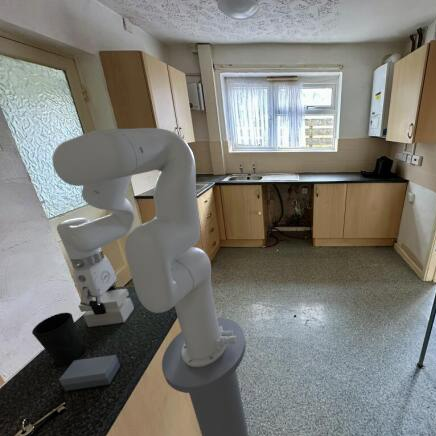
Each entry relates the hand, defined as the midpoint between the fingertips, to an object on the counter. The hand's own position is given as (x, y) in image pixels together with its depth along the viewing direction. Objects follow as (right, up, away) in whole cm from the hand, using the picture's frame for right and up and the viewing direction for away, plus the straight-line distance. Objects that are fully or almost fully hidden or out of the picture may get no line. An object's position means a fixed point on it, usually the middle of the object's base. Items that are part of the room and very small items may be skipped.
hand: (107, 305), depth 78 cm
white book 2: (0, -5, +2) cm, 5 cm away
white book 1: (0, -3, +1) cm, 3 cm away
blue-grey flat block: (+10, -10, -18) cm, 23 cm away
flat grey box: (0, +1, 0) cm, 1 cm away
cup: (-2, -10, -11) cm, 15 cm away
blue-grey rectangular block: (+10, -12, -18) cm, 24 cm away
